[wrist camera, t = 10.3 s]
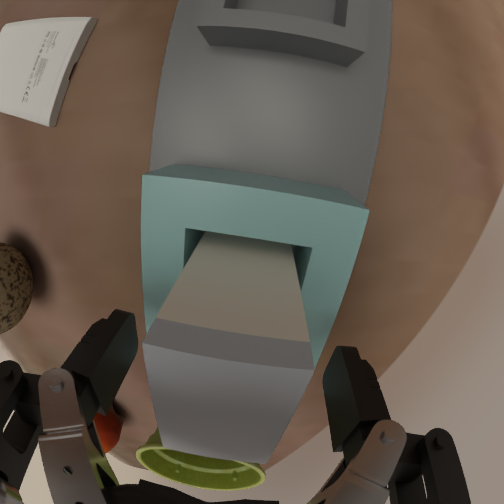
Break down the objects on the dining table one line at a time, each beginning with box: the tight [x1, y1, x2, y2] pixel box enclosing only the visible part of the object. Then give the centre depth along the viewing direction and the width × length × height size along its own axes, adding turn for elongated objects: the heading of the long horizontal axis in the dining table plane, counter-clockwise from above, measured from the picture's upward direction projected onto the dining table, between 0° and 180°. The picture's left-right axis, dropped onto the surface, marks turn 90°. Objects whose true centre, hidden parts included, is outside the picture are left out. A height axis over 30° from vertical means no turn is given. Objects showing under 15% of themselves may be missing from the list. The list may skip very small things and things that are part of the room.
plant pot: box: [136, 427, 266, 490], centre depth 18 cm, size 9×9×9 cm
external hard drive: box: [0, 17, 97, 127], centre depth 11 cm, size 2×8×12 cm
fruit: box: [94, 404, 125, 453], centre depth 23 cm, size 8×8×8 cm
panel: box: [141, 0, 392, 368], centre depth 12 cm, size 28×12×5 cm, turn 171°
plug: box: [142, 231, 315, 464], centre depth 12 cm, size 6×4×10 cm, turn 171°
